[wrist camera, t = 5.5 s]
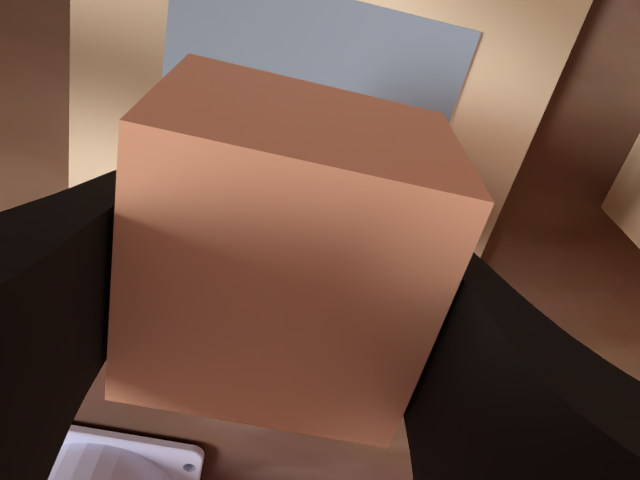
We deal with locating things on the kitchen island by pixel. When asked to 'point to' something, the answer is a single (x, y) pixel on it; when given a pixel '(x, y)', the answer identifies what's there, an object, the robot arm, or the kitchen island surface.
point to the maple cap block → (626, 196)
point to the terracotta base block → (283, 250)
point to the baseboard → (334, 64)
